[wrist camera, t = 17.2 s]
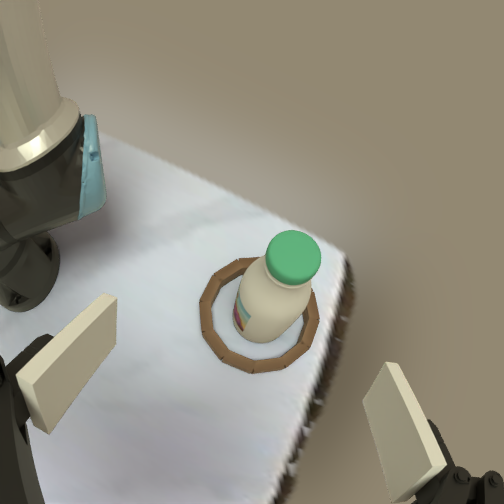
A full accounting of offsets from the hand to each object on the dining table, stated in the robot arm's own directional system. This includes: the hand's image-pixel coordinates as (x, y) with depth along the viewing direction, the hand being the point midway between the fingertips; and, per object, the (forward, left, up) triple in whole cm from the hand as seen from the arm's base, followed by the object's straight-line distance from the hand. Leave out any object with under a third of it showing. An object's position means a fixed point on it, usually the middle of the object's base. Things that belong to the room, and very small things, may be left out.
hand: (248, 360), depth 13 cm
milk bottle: (+1, +11, -27) cm, 29 cm away
